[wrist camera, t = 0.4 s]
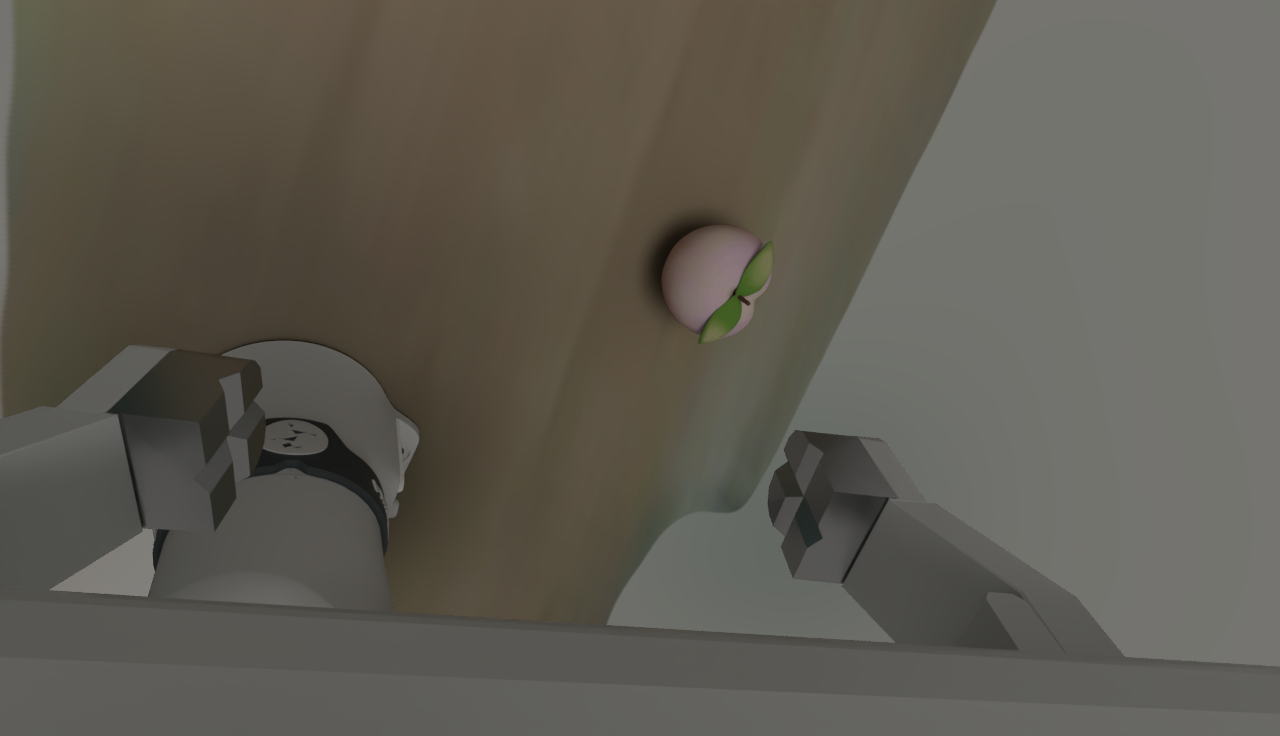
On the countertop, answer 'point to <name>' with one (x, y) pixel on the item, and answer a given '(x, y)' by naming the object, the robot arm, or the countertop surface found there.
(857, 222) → the countertop surface
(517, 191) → the countertop surface
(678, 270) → the decorative fruit
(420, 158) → the countertop surface
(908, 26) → the countertop surface
